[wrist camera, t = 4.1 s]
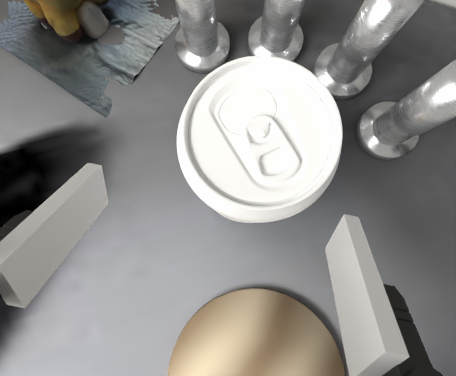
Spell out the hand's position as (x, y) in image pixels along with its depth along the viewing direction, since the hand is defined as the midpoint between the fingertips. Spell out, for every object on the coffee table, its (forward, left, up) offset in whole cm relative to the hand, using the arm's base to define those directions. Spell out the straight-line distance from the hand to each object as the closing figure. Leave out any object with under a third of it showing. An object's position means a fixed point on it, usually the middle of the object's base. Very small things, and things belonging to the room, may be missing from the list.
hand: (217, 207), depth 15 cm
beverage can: (-1, -4, -9) cm, 10 cm away
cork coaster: (-5, +12, -9) cm, 16 cm away
